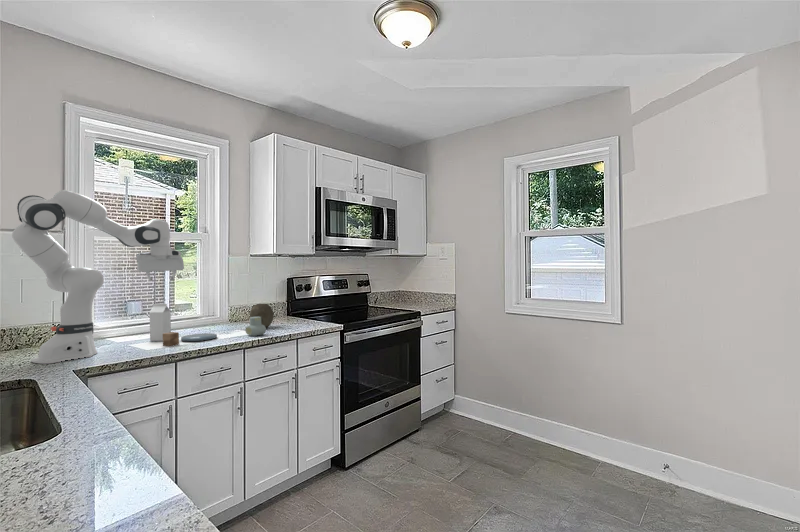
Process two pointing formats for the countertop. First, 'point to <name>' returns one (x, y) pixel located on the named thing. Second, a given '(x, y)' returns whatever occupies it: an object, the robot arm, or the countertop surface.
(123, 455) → the countertop surface
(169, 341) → the block
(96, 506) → the countertop surface
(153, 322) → the milk carton
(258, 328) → the air freshener
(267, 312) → the dark rounded stone
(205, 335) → the dish
